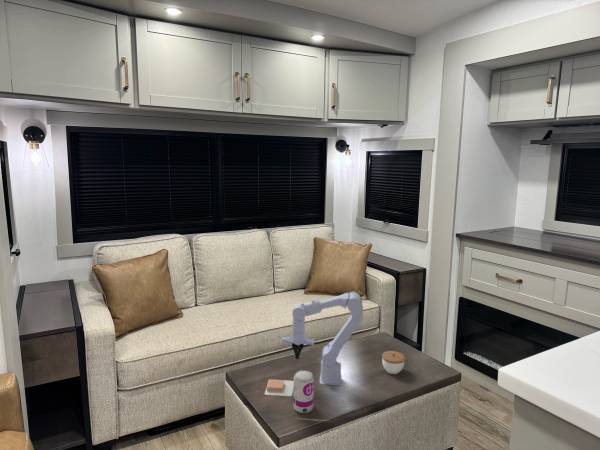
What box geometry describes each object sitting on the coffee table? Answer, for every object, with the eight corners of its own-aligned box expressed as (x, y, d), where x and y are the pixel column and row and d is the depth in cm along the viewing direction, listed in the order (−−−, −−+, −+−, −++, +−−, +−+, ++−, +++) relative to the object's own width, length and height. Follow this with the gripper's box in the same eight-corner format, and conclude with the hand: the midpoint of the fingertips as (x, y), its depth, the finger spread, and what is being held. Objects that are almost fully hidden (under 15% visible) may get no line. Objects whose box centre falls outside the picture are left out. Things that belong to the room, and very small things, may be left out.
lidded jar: (392, 379, 191) (393, 360, 189) (376, 368, 200) (377, 351, 198) (408, 372, 197) (409, 354, 195) (392, 363, 206) (393, 345, 204)
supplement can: (317, 409, 167) (317, 376, 165) (300, 416, 163) (301, 382, 160) (305, 400, 174) (306, 367, 171) (289, 406, 169) (289, 373, 167)
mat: (294, 382, 187) (294, 380, 187) (291, 397, 176) (291, 396, 176) (268, 380, 188) (268, 379, 188) (264, 395, 177) (264, 394, 177)
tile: (284, 380, 185) (269, 379, 185) (282, 388, 179) (266, 387, 179) (284, 384, 185) (269, 383, 185) (282, 391, 179) (266, 390, 180)
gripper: (281, 333, 183) (280, 361, 185) (313, 335, 182) (312, 363, 184) (283, 326, 190) (282, 353, 192) (314, 328, 189) (313, 356, 191)
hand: (297, 358), depth 189 cm, fingers closed
